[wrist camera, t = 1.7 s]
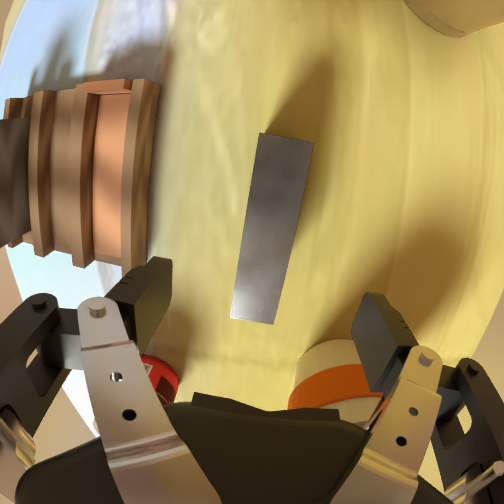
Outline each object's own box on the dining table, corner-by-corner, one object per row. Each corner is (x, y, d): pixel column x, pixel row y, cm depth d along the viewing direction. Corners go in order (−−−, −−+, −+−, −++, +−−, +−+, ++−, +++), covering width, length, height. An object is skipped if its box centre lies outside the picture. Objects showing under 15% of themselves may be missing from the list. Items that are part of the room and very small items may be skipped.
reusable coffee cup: (326, 307, 27) (357, 437, 14) (402, 349, 29) (446, 450, 15) (260, 379, 32) (251, 490, 18) (336, 407, 34) (350, 501, 20)
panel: (263, 134, 22) (259, 132, 14) (299, 141, 22) (313, 142, 14) (241, 266, 26) (229, 317, 19) (273, 272, 26) (273, 324, 19)
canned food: (116, 365, 34) (82, 424, 23) (147, 344, 31) (111, 413, 21) (156, 398, 36) (133, 458, 25) (192, 381, 33) (170, 452, 23)
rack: (26, 99, 20) (-35, 102, 12) (161, 85, 20) (102, 63, 12) (25, 236, 27) (-26, 267, 18) (146, 263, 27) (99, 317, 18)
